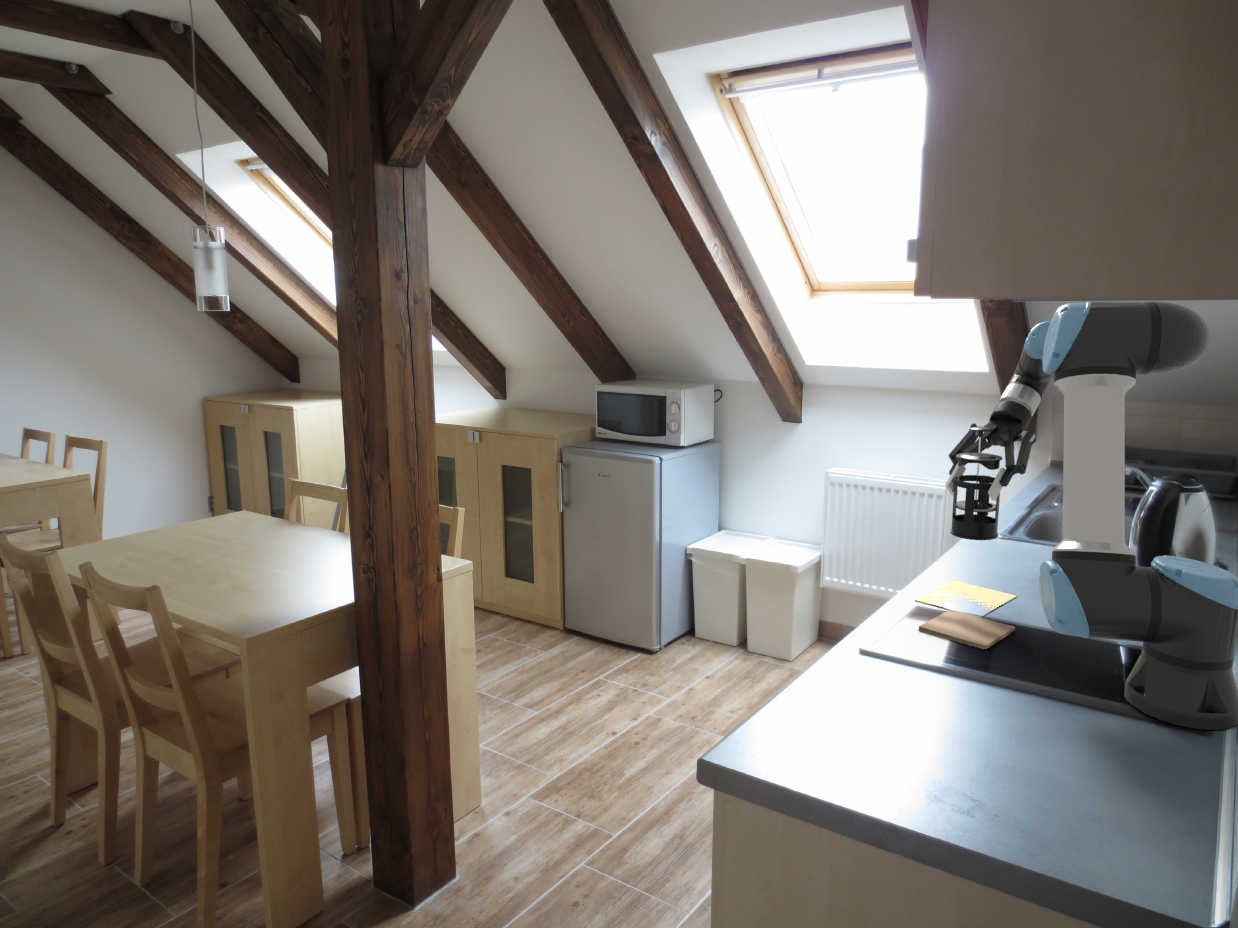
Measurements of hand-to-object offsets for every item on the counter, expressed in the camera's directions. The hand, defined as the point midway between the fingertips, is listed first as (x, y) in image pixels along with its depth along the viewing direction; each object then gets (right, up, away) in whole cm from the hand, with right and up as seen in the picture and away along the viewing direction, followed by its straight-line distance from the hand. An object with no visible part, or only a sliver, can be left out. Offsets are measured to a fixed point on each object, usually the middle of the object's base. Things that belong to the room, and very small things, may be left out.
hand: (969, 492), depth 172 cm
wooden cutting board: (-6, -26, -12) cm, 29 cm away
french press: (+3, -9, +4) cm, 10 cm away
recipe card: (+2, -23, +6) cm, 24 cm away
